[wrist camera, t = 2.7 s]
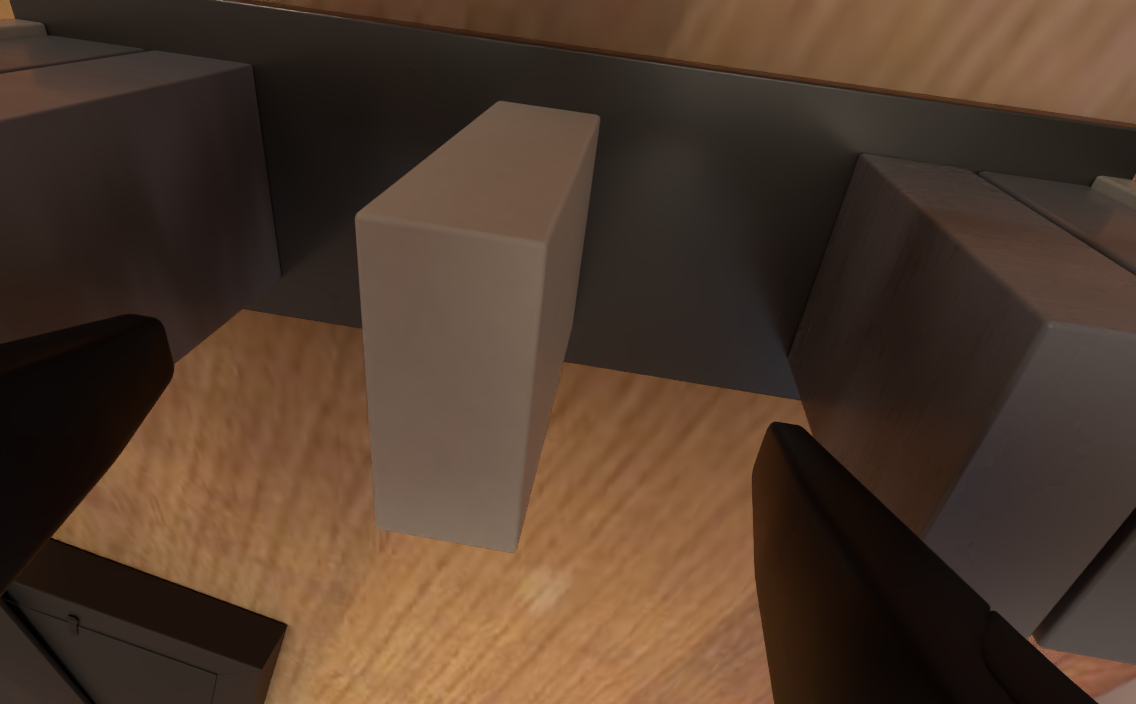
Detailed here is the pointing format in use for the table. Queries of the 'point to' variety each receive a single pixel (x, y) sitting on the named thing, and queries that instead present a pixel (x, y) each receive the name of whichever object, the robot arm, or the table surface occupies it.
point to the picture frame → (126, 638)
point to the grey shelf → (637, 247)
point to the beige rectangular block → (472, 319)
